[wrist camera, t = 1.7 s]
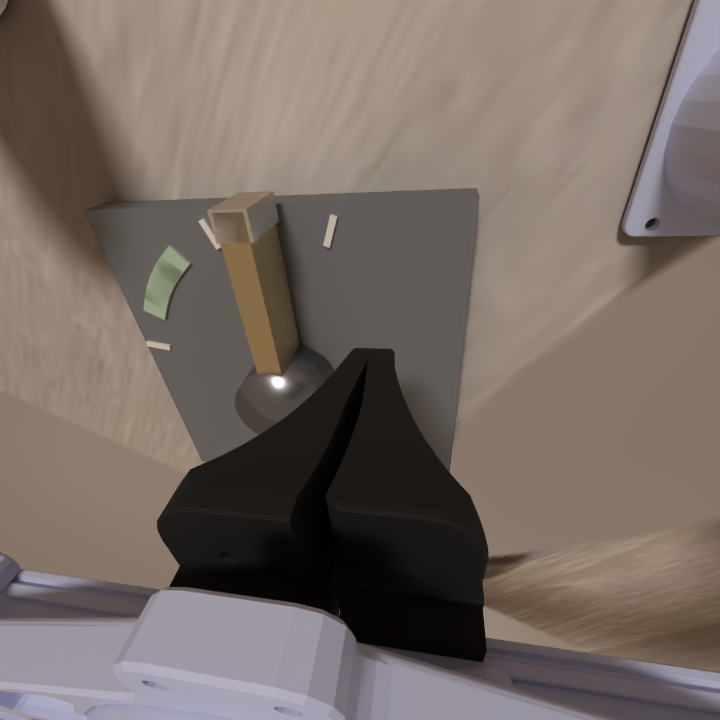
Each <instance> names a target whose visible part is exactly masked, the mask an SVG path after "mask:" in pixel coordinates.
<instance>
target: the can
mask: <svg viewBox="0 0 720 720" xmlns="http://www.w3.org/2000/svg"><path fill="white" fill-rule="evenodd" d="M7 3H8V0H0V15H1V14H2V13H3V11H4V10H5V8H6V6H7Z"/></svg>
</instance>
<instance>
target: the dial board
mask: <svg viewBox="0 0 720 720" xmlns="http://www.w3.org/2000/svg"><path fill="white" fill-rule="evenodd" d="M274 197H275V202H276V208H277V213H278V219H279V222H278V223H276V226H277V231H278V236H279V241H280V246H281V252H282V257H283V262H284V267H285V272H286V278H287V283H288V288H289V293H290V299H291V304H292V309H293V314H294V319H295V325H296V330H297V335H298V340H299V344H300V345H304V346H306V347H308V348H310V349H312V350H314V351H315V352H317V353H318V354H319V355H321V356H322V357H323V358H324V359H325V361H326V362H327V363H328V365H329V366H330V368H331V371H332V373H333V372H334V371H335V370H336V369H337V367H338V366H339V365H340V364H341V363H342V361H343V360H344V359H345V358H346V357H347V355H348V354H349V353H350V352H351V350H353V349H354V348H378V349H392V350H393V351H394V352H395V370H396V375H397V378H398V382H399V385H400V388H401V391H402V394H403V396H404V399H405V401H406V404H407V406H408V408H409V410H410V412H411V415H412V417H413V419H414V420H415V422H416V424H417V426H418V428H419V430H420V431H421V433H422V435H423V436H424V438H425V440H426V441H427V443H428V444H429V445H430V447H431V448H432V450H433V451H434V453H435V454H436V455H437V457H438V458H439V460H440V461H441V462H442V464H443V465H444V466H445V467H446V469H447V470H448V471H449V472H450V463H451V453H452V444H453V435H454V426H455V417H456V408H457V398H458V389H459V380H460V371H461V362H462V353H463V343H464V334H465V325H466V316H467V307H468V297H469V288H470V279H471V270H472V261H473V252H474V242H475V233H476V224H477V215H478V206H479V194H478V192H477V190H476V188H474V189H448V190H422V191H396V192H370V193H344V194H318V195H292V196H274ZM226 199H228V198H214V199H188V200H161V201H135V202H109V203H104V204H101V205H98V206H95V207H92V208H90V209H87V210H84V211H85V213H86V215H87V218H88V220H89V222H90V224H91V226H92V228H93V230H94V232H95V235H96V237H97V239H98V241H99V243H100V245H101V247H102V249H103V252H104V254H105V256H106V258H107V260H108V262H109V264H110V266H111V269H112V271H113V273H114V275H115V277H116V279H117V281H118V283H119V286H120V288H121V290H122V292H123V294H124V296H125V298H126V300H127V303H128V305H129V307H130V309H131V311H132V313H133V315H134V317H135V319H136V322H137V324H138V326H139V328H140V330H141V332H142V334H143V336H144V339H145V341H146V343H147V346H148V347H149V349H150V351H151V353H152V356H153V358H154V360H155V362H156V364H157V366H158V368H159V370H160V373H161V375H162V377H163V379H164V381H165V383H166V385H167V387H168V390H169V392H170V394H171V396H172V398H173V400H174V402H175V404H176V407H177V409H178V411H179V413H180V415H181V417H182V419H183V421H184V424H185V426H186V428H187V430H188V432H189V434H190V436H191V438H192V441H193V443H194V445H195V447H196V449H197V451H198V453H199V455H200V458H201V460H202V461H206V462H208V461H210V460H213V459H215V458H217V457H219V456H221V455H223V454H225V453H227V452H229V451H231V450H233V449H235V448H237V447H239V446H241V445H243V444H244V443H246V442H248V441H250V440H251V439H253V438H255V437H256V436H258V435H259V434H257V433H255V432H254V431H253V430H251V429H250V428H249V427H248V426H247V425H246V424H245V423H244V422H243V421H242V420H241V418H240V417H239V415H238V413H237V411H236V408H235V395H236V392H237V390H238V389H239V387H240V386H241V384H242V383H243V381H244V379H245V378H246V376H247V375H248V373H249V372H250V370H251V369H252V367H253V366H254V360H253V357H252V353H251V350H250V346H249V343H248V339H247V336H246V332H245V329H244V325H243V322H242V318H241V315H240V311H239V308H238V304H237V301H236V297H235V294H234V290H233V286H232V283H231V279H230V276H229V272H228V269H227V265H226V262H225V258H224V255H223V251H222V248H221V244H220V243H216V240H215V236H214V233H213V229H212V226H211V223H210V219H209V216H208V212H207V210H208V209H210V208H212V207H214V206H215V205H217V204H219V203H221V202H223V201H225V200H226Z"/></svg>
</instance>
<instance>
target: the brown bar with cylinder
mask: <svg viewBox="0 0 720 720" xmlns="http://www.w3.org/2000/svg"><path fill="white" fill-rule="evenodd" d="M207 212H208V216H209V219H210V223H211V226H212V229H213V233H214V236H215V240H216V243H220V244H221V248H222V251H223V255H224V258H225V262H226V265H227V269H228V272H229V276H230V279H231V283H232V286H233V290H234V294H235V297H236V301H237V304H238V308H239V311H240V315H241V318H242V322H243V325H244V329H245V332H246V336H247V339H248V343H249V346H250V350H251V353H252V357H253V360H254V366H253V367H252V369H251V370H250V372H249V373H248V375H247V376H246V378H245V379H244V381H243V383H242V384H241V386H240V387H239V389H238V390H237V392H236V395H235V408H236V411H237V413H238V415H239V417H240V418H241V420H242V421H243V422H244V423H245V424H246V425H247V426H248V427H249V428H250V429H251V430H253V431H254V432H255V433H257V434H259V435H260V434H261V433H263V432H264V431H266V430H267V429H269V428H270V427H272V426H273V425H275V424H276V423H278V422H279V421H281V420H282V419H284V418H285V417H286V416H288V415H289V414H290V413H291V412H293V411H294V410H295V409H296V408H297V407H299V406H300V405H301V404H302V403H303V402H304V401H305V400H307V399H308V398H309V397H310V396H311V395H312V394H313V393H314V392H315V391H316V390H317V389H318V388H319V387H320V386H321V385H322V384H323V383H324V382H325V381H326V380H327V379H328V377H329V376H330V375H331V374H332V371H331V368H330V366H329V365H328V363H327V362H326V361H325V359H324V358H323V357H322V356H321V355H319V354H318V353H317V352H315V351H314V350H312V349H310V348H308V347H306V346H304V345H300V344H299V340H298V335H297V330H296V325H295V319H294V314H293V309H292V304H291V299H290V293H289V288H288V283H287V278H286V272H285V267H284V262H283V257H282V252H281V246H280V241H279V236H278V231H277V226H276V223H278V222H279V219H278V213H277V208H276V202H275V197H274V192H273V191H265V192H241V193H238V194H236V195H234V196H232V197H230V198H228V199H226V200H225V201H223V202H221V203H219V204H217V205H215V206H214V207H212V208H210V209H208V210H207Z"/></svg>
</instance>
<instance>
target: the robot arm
mask: <svg viewBox="0 0 720 720" xmlns="http://www.w3.org/2000/svg"><path fill="white" fill-rule="evenodd" d="M652 218H656V221H655V223H654V225H653V226H651V227H650V228H645V224H646V223H647V221H649V220H650V219H652ZM621 228H622V230H623V232H625V233H626V234H627V235H629V236H632V237H658V236H718V235H720V0H695V1H694V4H693V7H692V10H691V13H690V16H689V19H688V22H687V25H686V28H685V31H684V34H683V38H682V41H681V44H680V47H679V50H678V53H677V56H676V59H675V62H674V65H673V68H672V71H671V74H670V77H669V80H668V83H667V86H666V90H665V93H664V96H663V99H662V102H661V105H660V108H659V111H658V114H657V117H656V120H655V123H654V126H653V129H652V132H651V135H650V138H649V142H648V145H647V148H646V151H645V154H644V157H643V160H642V163H641V166H640V169H639V172H638V175H637V178H636V181H635V184H634V187H633V191H632V194H631V197H630V200H629V203H628V206H627V209H626V212H625V215H624V218H623V221H622V227H621ZM157 529H158V532H159V534H160V536H161V538H162V540H163V542H164V543H165V545H166V546H167V547H168V549H169V550H170V552H171V553H172V555H173V556H174V558H175V559H176V561H177V562H178V563H179V565H180V567H179V569H178V571H177V573H176V575H175V577H174V579H173V581H172V582H171V584H170V586H169V587H167V588H165V589H162V590H161V589H154V588H147V587H140V586H134V585H127V584H120V583H114V582H107V581H100V580H93V579H86V578H80V577H73V576H66V575H60V574H53V573H45V572H40V571H33V570H26V569H20V566H19V565H18V564H17V563H16V562H15V561H14V560H13V559H12V558H10V557H9V556H7V555H5V554H3V553H1V552H0V719H4V720H720V672H714V671H707V670H700V669H693V668H687V667H680V666H673V665H666V664H660V663H653V662H646V661H640V660H633V659H626V658H619V657H613V656H606V655H599V654H592V653H586V652H578V651H572V650H565V649H559V648H552V647H545V646H538V645H532V644H524V643H518V642H511V641H504V640H497V639H491V638H485V628H484V617H483V606H484V595H483V585H482V582H483V578H484V574H485V570H486V566H487V562H488V546H487V542H486V538H485V534H484V530H483V527H482V524H481V521H480V519H479V516H478V513H477V511H476V509H475V506H474V504H473V501H472V499H471V497H470V495H469V494H468V493H467V492H466V491H465V489H464V488H463V487H461V485H460V484H459V483H458V482H457V481H456V479H454V477H453V476H452V475H451V474H450V472H449V471H448V470H447V469H446V467H445V466H444V465H443V464H442V462H441V461H440V460H439V458H438V457H437V455H436V454H435V453H434V451H433V450H432V448H431V447H430V445H429V444H428V443H427V441H426V440H425V438H424V436H423V435H422V433H421V431H420V430H419V428H418V426H417V424H416V422H415V420H414V419H413V417H412V415H411V412H410V410H409V408H408V406H407V404H406V401H405V399H404V396H403V394H402V391H401V388H400V385H399V382H398V378H397V375H396V370H395V352H394V351H393V350H392V349H378V348H354V349H353V350H351V352H350V353H349V354H348V355H347V357H346V358H345V359H344V360H343V361H342V363H341V364H340V365H339V366H338V367H337V369H336V370H335V371H334V372H333V373H332V374H331V375H330V376H329V377H328V379H327V380H326V381H325V382H324V383H323V384H322V385H321V386H320V387H319V388H318V389H317V390H316V391H315V392H314V393H313V394H312V395H311V396H310V397H309V398H308V399H307V400H305V401H304V402H303V403H302V404H301V405H300V406H299V407H297V408H296V409H295V410H294V411H293V412H291V413H290V414H289V415H288V416H286V417H285V418H284V419H282V420H281V421H279V422H278V423H276V424H275V425H273V426H272V427H270V428H269V429H267V430H266V431H264V432H263V433H261V434H260V435H258V436H256V437H255V438H253V439H251V440H250V441H248V442H246V443H244V444H243V445H241V446H239V447H237V448H235V449H233V450H231V451H229V452H227V453H225V454H223V455H221V456H219V457H217V458H215V459H213V460H210V461H208V462H206V463H204V464H202V465H200V466H197V467H195V468H193V469H190V471H189V472H188V473H187V475H186V476H185V478H184V479H183V480H182V482H181V483H180V485H179V486H178V488H177V489H176V491H175V493H174V494H173V496H172V498H171V499H170V501H169V503H168V504H167V506H166V507H165V509H164V510H163V512H162V514H161V515H160V517H159V518H158V520H157ZM339 610H340V614H339Z"/></svg>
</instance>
